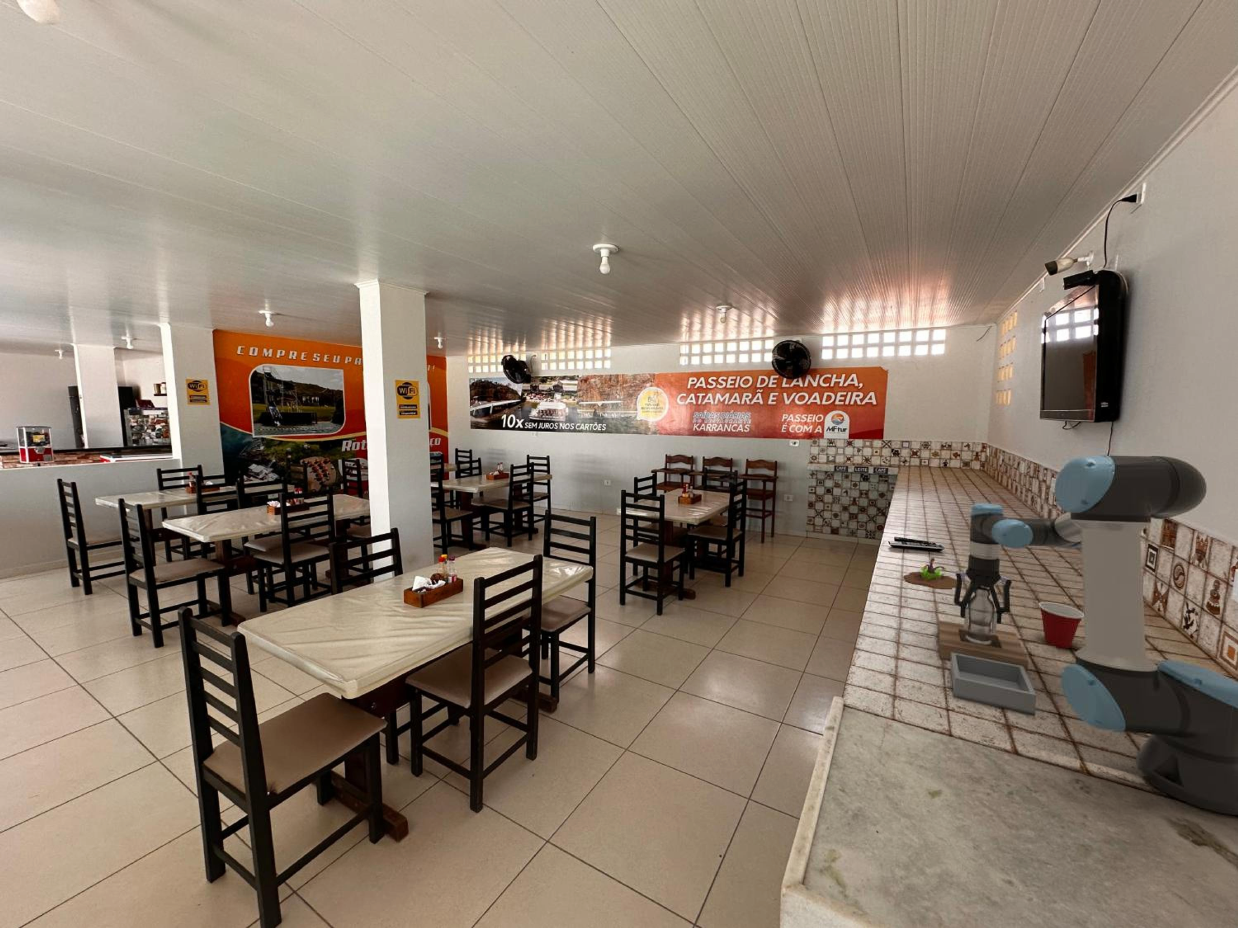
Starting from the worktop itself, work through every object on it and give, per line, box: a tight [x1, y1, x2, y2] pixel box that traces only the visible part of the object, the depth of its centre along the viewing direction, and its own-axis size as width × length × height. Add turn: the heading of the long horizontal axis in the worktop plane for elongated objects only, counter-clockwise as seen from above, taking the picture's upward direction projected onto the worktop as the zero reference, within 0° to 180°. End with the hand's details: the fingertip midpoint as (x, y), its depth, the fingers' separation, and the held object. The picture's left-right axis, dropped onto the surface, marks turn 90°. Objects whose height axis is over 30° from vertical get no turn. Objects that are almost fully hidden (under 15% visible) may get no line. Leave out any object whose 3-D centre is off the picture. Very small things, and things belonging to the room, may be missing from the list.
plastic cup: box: [1038, 601, 1084, 649], centre depth 154 cm, size 11×11×12 cm
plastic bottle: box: [965, 586, 996, 647], centre depth 149 cm, size 6×7×20 cm
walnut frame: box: [937, 619, 1029, 674], centre depth 150 cm, size 20×20×4 cm
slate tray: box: [949, 652, 1037, 716], centre depth 129 cm, size 16×16×5 cm
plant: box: [902, 557, 957, 591], centre depth 212 cm, size 20×20×11 cm
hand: (979, 630), depth 149 cm, fingers closed on plastic bottle, 6 cm apart
